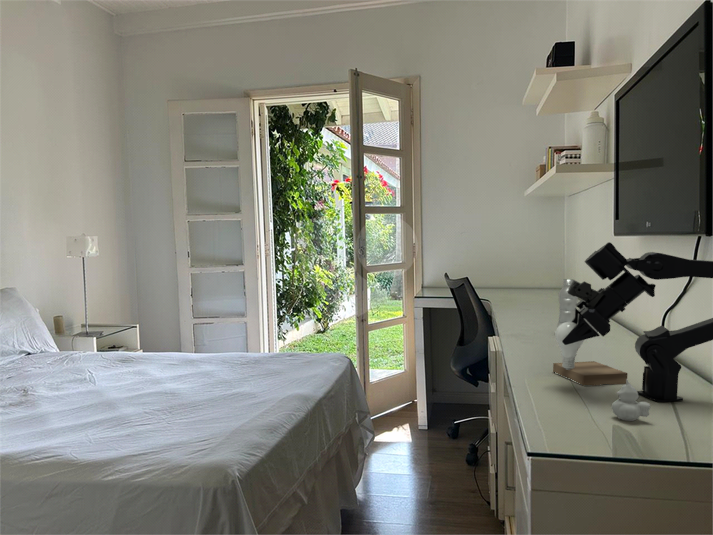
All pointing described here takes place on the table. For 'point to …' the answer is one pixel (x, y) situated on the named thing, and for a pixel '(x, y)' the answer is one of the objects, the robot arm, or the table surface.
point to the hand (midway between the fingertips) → (562, 340)
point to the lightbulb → (570, 349)
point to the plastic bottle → (566, 303)
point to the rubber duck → (629, 404)
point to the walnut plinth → (592, 373)
